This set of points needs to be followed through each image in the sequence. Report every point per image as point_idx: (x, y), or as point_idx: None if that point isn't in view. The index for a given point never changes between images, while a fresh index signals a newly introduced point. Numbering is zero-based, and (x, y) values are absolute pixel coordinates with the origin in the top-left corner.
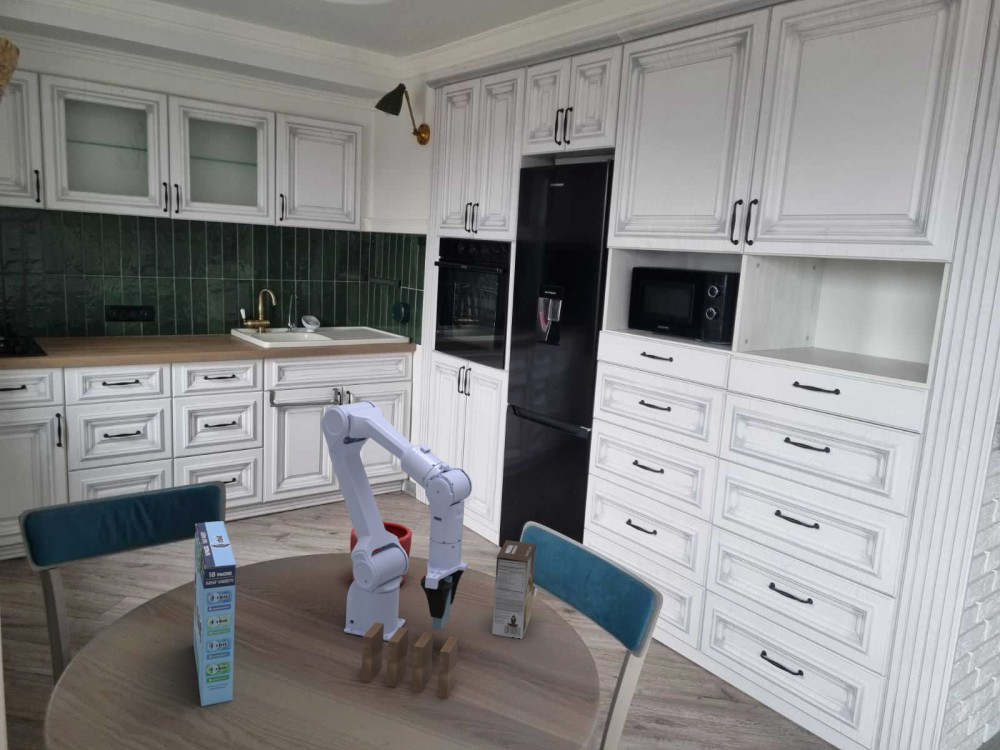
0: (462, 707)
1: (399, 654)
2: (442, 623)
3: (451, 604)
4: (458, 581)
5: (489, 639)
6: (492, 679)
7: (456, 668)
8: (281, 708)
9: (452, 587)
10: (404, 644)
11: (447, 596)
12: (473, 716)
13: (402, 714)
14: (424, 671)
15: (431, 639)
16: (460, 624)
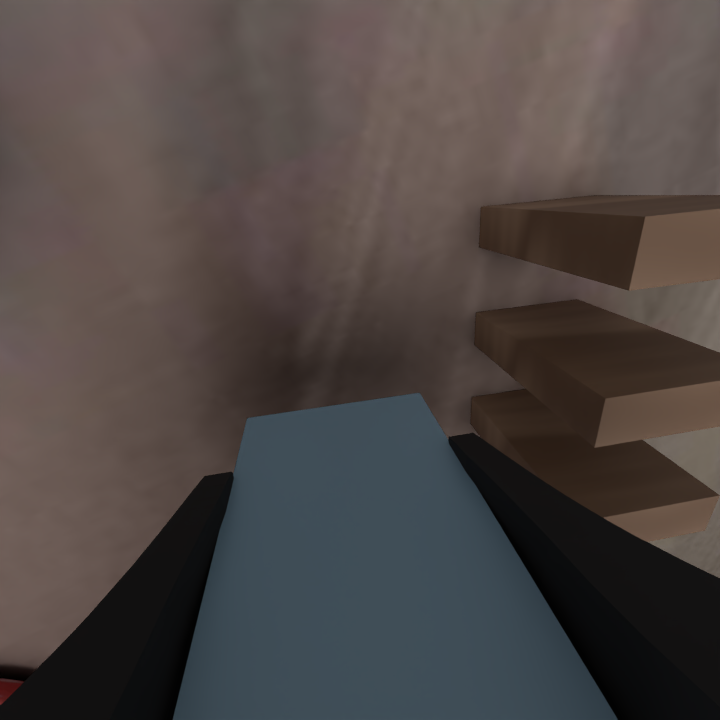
0: (643, 105)
1: (618, 449)
2: (405, 412)
3: (232, 473)
4: (61, 702)
5: (56, 192)
6: (410, 32)
7: (517, 208)
8: (679, 539)
9: (177, 633)
10: (578, 469)
11: (647, 584)
12: (699, 27)
13: (693, 298)
14: (600, 322)
15: (612, 381)
16: (35, 380)
